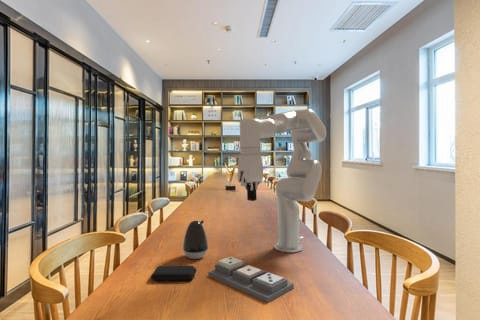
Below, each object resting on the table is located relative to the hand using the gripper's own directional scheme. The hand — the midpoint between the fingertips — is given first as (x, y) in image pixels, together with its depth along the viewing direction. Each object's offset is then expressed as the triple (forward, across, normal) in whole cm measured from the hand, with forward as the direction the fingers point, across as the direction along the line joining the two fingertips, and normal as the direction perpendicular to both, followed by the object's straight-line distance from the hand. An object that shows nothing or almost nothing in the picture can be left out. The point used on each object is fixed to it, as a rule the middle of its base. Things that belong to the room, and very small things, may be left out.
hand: (251, 200), depth 115 cm
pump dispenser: (+25, +10, -24) cm, 36 cm away
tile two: (+22, +12, -1) cm, 25 cm away
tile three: (+23, +12, +17) cm, 31 cm away
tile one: (+23, +12, +8) cm, 27 cm away
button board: (+25, +12, +8) cm, 29 cm away
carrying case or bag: (+25, +27, -14) cm, 39 cm away
